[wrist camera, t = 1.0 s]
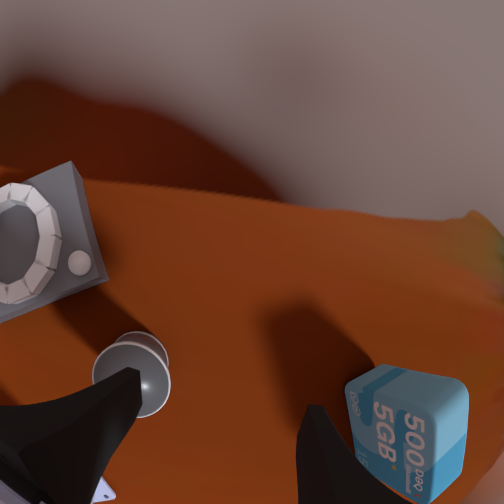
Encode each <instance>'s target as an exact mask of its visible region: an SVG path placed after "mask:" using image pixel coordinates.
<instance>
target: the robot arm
mask: <svg viewBox="0 0 504 504" xmlns="http://www.w3.org/2000/svg"><path fill="white" fill-rule="evenodd" d="M142 404H143V401H142V390H141V377H140V370H137V369H134V368H130V367H126V368H124V369H122V370H120V371H119V372H117V373H115V374H113V375H111V376H109V377H107V378H106V379H104V380H102V381H100V382H98V383H96V384H94V385H92V386H90V387H87V388H85V389H83V390H80V391H78V392H76V393H73V394H71V395H68V396H65V397H62V398H59V399H55V400H52V401H47V402H42V403H37V404H31V405H21V406H0V504H93V502H100V501H106V500H111V499H115V498H116V494H115V492H114V491H113V490H112V489H111V487H110V486H109V485H108V484H107V482H106V481H105V480H104V478H103V477H102V474H103V472H104V470H105V468H106V466H107V464H108V462H109V460H110V458H111V457H112V455H113V453H114V452H115V450H116V449H117V447H118V446H119V444H120V443H121V441H122V440H123V438H124V437H125V435H126V434H127V432H128V431H129V429H130V428H131V426H132V425H133V423H134V422H135V420H136V418H137V415H138V413H139V411H140V409H141V407H142ZM296 467H297V482H298V504H413V503H411V502H409V501H407V500H405V499H403V498H402V497H400V496H399V495H397V494H396V493H394V492H393V491H391V490H390V489H389V488H387V487H386V486H385V485H384V484H382V483H381V482H380V481H379V480H378V479H376V478H375V477H374V476H373V475H372V474H371V473H370V472H369V471H368V470H367V469H366V468H365V467H364V466H363V465H362V464H361V463H360V461H359V460H358V459H357V458H356V457H355V455H354V454H353V453H352V451H351V450H350V449H349V447H348V446H347V445H346V443H345V442H344V440H343V439H342V437H341V436H340V434H339V432H338V431H337V429H336V428H335V426H334V424H333V422H332V421H331V419H330V417H329V415H328V414H327V412H326V410H325V408H324V407H323V406H321V405H309V404H308V407H307V410H306V413H305V416H304V419H303V421H302V424H301V427H300V429H299V432H298V435H297V445H296ZM105 495H107V496H105Z"/></svg>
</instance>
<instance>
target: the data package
mask: <svg viewBox="0 0 504 504" xmlns="http://www.w3.org/2000/svg"><path fill="white" fill-rule="evenodd" d="M345 396H346V401H347V407H348V412H349V418H350V424H351V430H352V436H353V442H354V448H355V455H356V458H357V459H358V460H359V461H360V463H361V464H362V465H363V466H364V467H365V468H366V469H367V470H368V471H369V472H370V473H371V474H372V475H373V476H374V477H376V478H377V479H379V480H381V481H382V482H384V483H385V484H387V485H388V486H390V487H392V488H393V489H395V490H396V491H398V492H400V493H401V494H403V495H405V496H406V497H408V498H410V499H411V500H413V501H415V502H417V503H419V504H429V503H430V502H432V501H433V500H434V499H435V498H436V497H437V496H438V495H439V494H441V493H442V492H443V491H444V490H445V489H446V488H447V487H448V486H449V485H450V484H451V483H452V482H453V481H454V480H455V479H456V478H457V477H458V476H459V475H460V474H461V471H462V465H463V459H464V452H465V444H466V435H467V423H468V407H469V395H468V391H467V389H466V387H465V385H464V384H463V383H462V382H460V381H459V380H457V379H454V378H449V377H443V376H438V375H433V374H428V373H423V372H418V371H413V370H408V369H404V368H399V367H395V366H390V365H386V364H381V365H379V366H377V367H375V368H374V369H372V370H370V371H368V372H367V373H365V374H363V375H361V376H359V377H357V378H356V379H354V380H352V381H350V382H348V383H347V384H346V386H345Z"/></svg>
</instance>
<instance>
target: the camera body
mask: <svg viewBox="0 0 504 504" xmlns="http://www.w3.org/2000/svg"><path fill="white" fill-rule="evenodd" d="M108 280H109V278H108V275H107V271H106V268H105V265H104V262H103V259H102V256H101V252H100V249H99V246H98V242H97V239H96V235H95V231H94V228H93V224H92V220H91V216H90V212H89V208H88V204H87V199H86V195H85V191H84V186H83V181H82V178H81V176H80V175H79V173H78V171H77V170H76V168H75V167H74V165H73V163H72V161H69V162H67V163H64V164H62V165H59V166H57V167H55V168H52V169H50V170H48V171H45V172H43V173H41V174H39V175H37V176H34V177H32V178H30V179H28V180H26V181H24V182H22V183H20V184H17V183H11V184H10V183H9V184H7V185H5V186H3V187H1V188H0V323H3V322H5V321H7V320H10V319H12V318H15V317H17V316H20V315H22V314H24V313H27V312H29V311H32V310H34V309H37V308H39V307H42V306H44V305H47V304H49V303H52V302H54V301H57V300H59V299H62V298H64V297H67V296H70V295H72V294H75V293H77V292H80V291H82V290H85V289H88V288H90V287H93V286H95V285H98V284H100V283H103V282H106V281H108Z"/></svg>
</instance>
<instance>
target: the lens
mask: <svg viewBox="0 0 504 504" xmlns="http://www.w3.org/2000/svg"><path fill="white" fill-rule="evenodd" d="M126 367H130V368H134V369H137V370H140V377H141V390H142V401H143V404H142V407H141V409H140V411H139V413H138V415H137V418H141V417H146V416H149V415H152V414H154V413H155V412H157V411H158V410H160V409H161V408H162V407H163V405H164V404H165V403H166V401H167V399H168V397H169V393H170V384H171V383H170V375H169V371H168V356H167V353H166V350H165V347H164V345H163V344H162V342H161V341H160V340H159V339H158V338H157V337H156V336H154V335H153V334H151V333H149V332H146V331H140V330H136V331H131V332H128V333H126V334H124V335H122V336H121V337H119V338H118V339H117V340H116V341H115V343H114V344H112V345H110V346H109V347H107V348H106V349H105V350H104V351H103V352H101V354H100V355H99V356H98V357H97V359H96V361H95V363H94V366H93V371H92V380H93V385H94V384H96V383H98V382H100V381H102V380H104V379H106V378H107V377H109V376H111V375H113V374H115V373H117V372H119V371H120V370H122V369H124V368H126Z"/></svg>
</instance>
